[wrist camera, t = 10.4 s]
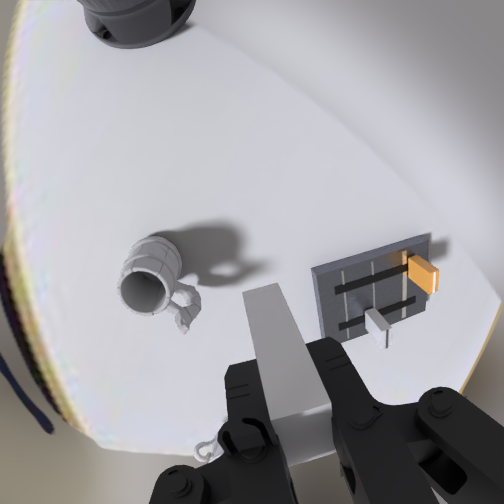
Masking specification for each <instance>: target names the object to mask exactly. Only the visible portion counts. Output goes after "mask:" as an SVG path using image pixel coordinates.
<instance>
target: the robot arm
mask: <svg viewBox="0 0 504 504" xmlns="http://www.w3.org/2000/svg"><path fill="white" fill-rule="evenodd" d="M77 1H78V2H80V3H81V4H82V5H83V7H84V14H85V20H86V23H87V26H88V28H89V29H90V31H91V32H92V33H93V34H94V35H95V36H96V37H97V38H98V39H99V40H101V41H102V42H103V43H105V44H107V45H109V46H112V47H115V48H121V49H135V48H142V47H146V46H149V45H152V44H155V43H157V42H160V41H162V40H164V39H165V38H167V37H169V36H170V35H172V34H173V33H174V32H176V31H177V30H178V29H179V28H180V27H181V26H182V25H183V24H184V23H185V22H186V20H187V19H188V18H189V16H190V15H191V13H192V11H193V8H194V6H195V2H196V0H77ZM242 294H243V299H244V303H245V308H246V313H247V317H248V322H249V327H250V331H251V336H252V340H253V345H254V350H255V354H256V359H254V360H250V361H246V362H242V363H238V364H234V365H229V367H228V370H227V372H226V374H225V377H224V380H225V389H226V399H227V411H228V421H227V422H226V423H224V424H223V426H222V427H221V429H220V430H219V432H218V437H217V441H218V443H219V444H220V446H221V448H222V449H223V451H224V453H223V454H222V455H221V456H220V457H219V458H217V459H215V460H214V461H212V462H210V463H207V464H205V465H203V466H201V467H198V468H196V469H195V468H194V467H191V466H187V465H175V466H173V467H170V468H168V469H166V470H165V471H164V472H162V473H161V474H160V476H159V477H158V479H157V481H156V483H155V486H154V489H153V493H152V495H151V499H150V502H149V504H299V503H298V500H297V496H296V492H295V488H294V484H293V481H292V478H291V476H290V472H289V468H288V466H292V465H295V464H299V463H302V462H306V461H310V460H313V459H316V458H320V457H323V456H326V455H329V454H332V453H335V449H336V451H337V454H338V456H339V459H340V474H341V477H342V476H344V478H345V481H346V483H347V486H348V489H349V491H350V494H351V496H352V499H353V502H354V504H439V502H438V500H437V498H436V496H435V495H434V493H433V491H432V489H431V487H432V488H433V489H434V490H435V491H436V492H437V493H438V494H439V495H440V496H441V497H442V498H443V499H444V500H445V501H446V502H447V503H448V504H504V427H503V426H502V425H500V424H499V423H498V422H496V421H495V420H494V419H492V418H491V417H490V416H489V415H487V414H486V413H485V412H483V411H482V410H481V409H479V408H478V407H477V406H475V405H474V404H473V403H471V402H470V401H469V400H467V399H466V398H465V397H463V396H462V395H461V394H459V393H458V392H457V391H455V390H453V389H451V388H447V387H437V388H432V389H430V390H428V391H427V392H425V393H424V394H423V395H422V396H421V397H420V399H419V402H415V403H409V404H403V405H387V404H383V403H381V402H378V401H377V400H376V399H374V398H373V397H372V395H371V394H370V393H369V391H368V389H367V388H366V386H365V384H364V382H363V381H362V379H361V377H360V375H359V374H358V372H357V370H356V369H355V367H354V365H353V364H352V362H351V360H350V358H349V357H348V356H347V353H346V352H345V350H344V348H343V347H342V345H341V343H339V342H338V341H336V340H335V339H333V338H332V337H330V336H329V337H326V338H323V339H319V340H316V341H313V342H310V343H307V344H305V342H304V340H303V338H302V336H301V333H300V331H299V329H298V327H297V325H296V322H295V320H294V318H293V316H292V313H291V311H290V309H289V307H288V305H287V302H286V300H285V298H284V296H283V293H282V291H281V289H280V287H279V285H278V283H274V284H271V285H267V286H264V287H260V288H256V289H253V290H249V291H245V292H242ZM430 486H431V487H430Z"/></svg>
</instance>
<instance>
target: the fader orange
mask: <svg viewBox="0 0 504 504" xmlns="http://www.w3.org/2000/svg"><path fill="white" fill-rule="evenodd" d="M408 278H410V279H411V280H412V281H413V282H414V283H416V284H417V285H418V286H419V287H421V288H422V289H423V290H424V291H425V292H426V293H428V294H431V293H435V292H436V291H438V280H439V269H437V268H436V267H434V266H433V265H431V264H430V263H429V262H427V261H426V260H424V259H423V258H421V257H420V256H418V255H415V256H412V257H409V258H408Z"/></svg>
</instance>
